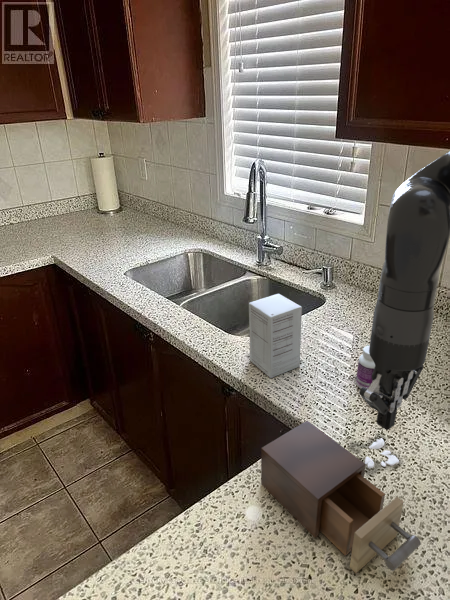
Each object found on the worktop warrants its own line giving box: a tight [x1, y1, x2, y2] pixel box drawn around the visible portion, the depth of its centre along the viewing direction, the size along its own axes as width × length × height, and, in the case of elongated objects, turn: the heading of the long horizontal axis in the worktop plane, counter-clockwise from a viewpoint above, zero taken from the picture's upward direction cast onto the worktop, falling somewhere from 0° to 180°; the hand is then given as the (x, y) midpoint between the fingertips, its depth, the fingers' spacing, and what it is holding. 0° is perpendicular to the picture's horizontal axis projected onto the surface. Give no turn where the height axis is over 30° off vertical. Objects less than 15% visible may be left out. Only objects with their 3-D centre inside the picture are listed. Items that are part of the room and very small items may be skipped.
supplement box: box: [248, 293, 303, 379], centre depth 109 cm, size 10×9×17 cm
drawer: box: [319, 473, 422, 574], centre depth 67 cm, size 16×10×8 cm, turn 36°
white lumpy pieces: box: [364, 437, 400, 469], centre depth 83 cm, size 8×7×2 cm
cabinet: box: [260, 420, 367, 538], centre depth 74 cm, size 13×11×10 cm
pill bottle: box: [355, 345, 375, 389], centre depth 101 cm, size 5×5×10 cm
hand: (385, 425), depth 69 cm, fingers closed
